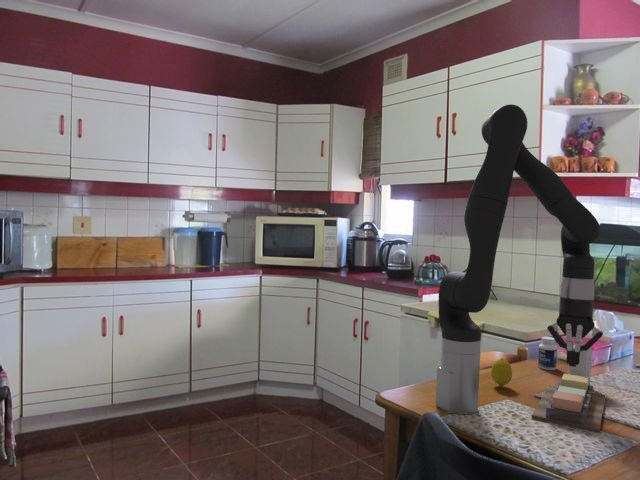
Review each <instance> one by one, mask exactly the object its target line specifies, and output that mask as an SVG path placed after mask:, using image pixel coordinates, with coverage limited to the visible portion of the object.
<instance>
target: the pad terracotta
mask: <svg viewBox="0 0 640 480" xmlns="http://www.w3.org/2000/svg"><path fill="white" fill-rule="evenodd" d="M552 407H553V408H558V409H563V410H569V411H574V412H580V413H581V412H582V408H583V395H578V394H573V393H567V392H561V391H555V393H554V395H553V397H552Z"/></svg>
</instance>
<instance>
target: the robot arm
mask: <svg viewBox="0 0 640 480" xmlns="http://www.w3.org/2000/svg"><path fill="white" fill-rule="evenodd" d="M527 130H528V116H527V115H526V113H525V111H524V110H523V109H522V107H520V106H519V105H516V104H505V105H502V106H500V107H499V108H497V109H495V110H494V111H493V112H492V113H491V114H490V115H489V116H488V117H487V118H486V119H485V120H484V121H483V123H482V126H481V136H482V139H483V140H484V142H485V143H486V144H487V149H486V154H485V158H484V160H483V163H482V164H481V167H480V169H479V171H478V173H477V175H476V178H475V180H474V182H473V184H472V186H471V189H470V191H469V195H468V199H467V202H466V206H465V211H464V217H463V218H464V219H463V220H464V226H465V231H466V234H467V239H468V243H469V259H468V264H467V267H466V271H465V272H463V271H449V272H447V273H446V274H444V276H442V279H441V281H440V284H439V288H438V322H439V326H440V329H441V348H440V351H441V352H440V366H438V367H437V368H436V387H435V388H436V391H435V393H436V394H435V406H436V407H438V408H440V409H442V410H443V411H445V412H447V413H448V414H459V415H472V414H475V413H477V412H479V397H480V393H479V392H480V371H481V369H480V368H481V365H480V364H481V347H482V346H481V343H482V331H481V327H479V325H478V324H476V323H475V322H474V320H472V318H471V316H470V313H474V314H476V313H477V314H478V313H479V312H481V311H483V310H484V309H485V307H486V306H487V304H488V302H489V299H490V296H491V292H492V285H493V277H494V269H495V263H496V262H495V260H496V256H497V249H498V245H499V241H500V236H501V230H502V226H503V223H504V219H505V217H506V216H505V215H506V211H507V207H508V201H509V196H510V191H511V187H512V182H513V177H514V172H515V173H516V174H517V175H518V176H519V177H520V178H521V179H522V181H523V182H524V184H526V185H527V187H528V188H529V189H530V190H531V192H532V193H533V194H534V196H535V197H536V198H537V200H538V201H539V202H540V204H541V205H542V206H543V208H545V209H544V210H546V212H548V214H550V215H551V216H553V217H555V218H556V219H557V220H558V221H559V222H560V223H561V224H562V227H561V230H560V242H561V243H560V244H561V252H562V259H563V262H562V271H561V272H562V274H561V275H562V277H561V282H560V283H561V284H560V291H559V292H560V293H559V307H558V308H559V309H558V311H559V312H558V317H557V319H556V322H554V323H552V324H549V325H548V326H547V330H548V332H549V334H551V336H552V338H554V339H555V343H557V345H558V347H560V348H563V349H565V350H566V364H569V367H570V366H573V367H576V365H578V364H579V362H580V352H581V351H587V350H588V349H589V348H590V347H591V348H592V347H593V346H594V345H595V344H596V343H597V342H598V341H599V340H600V339H601V338H602V337H603V336H604V331H602V330H600V329H598V328H597V327H596V326H595V325H596V324H595V322H594V319H593V318H594V304H595V303H594V301H595V300H594V299H595V284H594V282H595V280H594V278H595V258H594V257H593V256H592V255H591V251H590V249H591V248H590V244H593V243H594V242H596V241H598V239H599V237H600V235H601V226H600V223H599V222H598V220H597V219H596V217H595V216H594V214H592V212H591V211H590V210H589V209H588V208H586V206H585V205H584V204H582V202H580V201H579V200H578V199H577V198H576V197H575V196H574V195H573V193H572V192H571V190H570V189H569V187H568V186H567V185H566V184H565V182H564V181H563V179H562V178H561V177H560V176H559V175H558V174H557V172H555V171H554V170H553V169H551V168H550V167H549V166H548V165H546V164H545V163H543V162H542V161H541V160H539V159H538V158H537V157H536V156H534V154H532V152H530V150H529V149H528V148H527V146H526V145H525V143H524V142H523V141H524V140H525V137H526V133H527ZM559 330H561V332H562V333H563V335H565V337H566V338H565V339H566V340H565V339H564V338H563V337H562V336H561V334H560V333H559ZM591 331H592V332H591ZM590 332H591V334H590V335H591V338H589V340H587V342H585V344H583V338H585V337H586V336H587V335H588V334H589V333H590ZM574 338H575V339H574ZM574 340H575V341H574ZM574 342H575V343H574ZM581 344H582V345H581ZM573 345H575V348H574V350H573Z"/></svg>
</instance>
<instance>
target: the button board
mask: <svg viewBox="0 0 640 480" xmlns="http://www.w3.org/2000/svg"><path fill="white" fill-rule="evenodd" d="M559 386H561V380H560V379H559V381H558V383H557V384H556V386H554V385H547V387H546V389H545V391H544V393H543V394H542V396H541V398H540V400H539V402H538V403H537V405H536V407H535V408H534V411H533V412H532V415H531V419H532V420H537V421H542V422H545V423H546V422H547V423H552V424H557V425H561V426H567V427H571V428H576V429H582V430H587V431H593V432H597V433H600V431H601V424H602V419H603V415H604V414H603V412H604V408H605V407H604V406H605V401H606V394H600V393H596V392H595V393H594V385H591V384H590V385H588V391H587V392H586V399H585V402H583V408H582V412H581V413H580V412H574V411H569V410H563V409H558V408H553V407H552V397H553V395H554V393H555V391H558V388H559Z"/></svg>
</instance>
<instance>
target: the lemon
mask: <svg viewBox="0 0 640 480" xmlns="http://www.w3.org/2000/svg"><path fill="white" fill-rule="evenodd" d="M512 369H513V368H512V366H511V364H510V362H508V361H507V360H506V359H504V357H503V358H499V359H497V360H495V361H494V362H493V363H492V367H491V371H490V375H491V378H492V381H493V382H494V383H495V384H497V385H498V386H499V387H500V388H501V387H502V388H503V387H504V386H506V385H508V384H509V383H510V382H511V380H512V379H513V378H512V377H513V370H512Z"/></svg>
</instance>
